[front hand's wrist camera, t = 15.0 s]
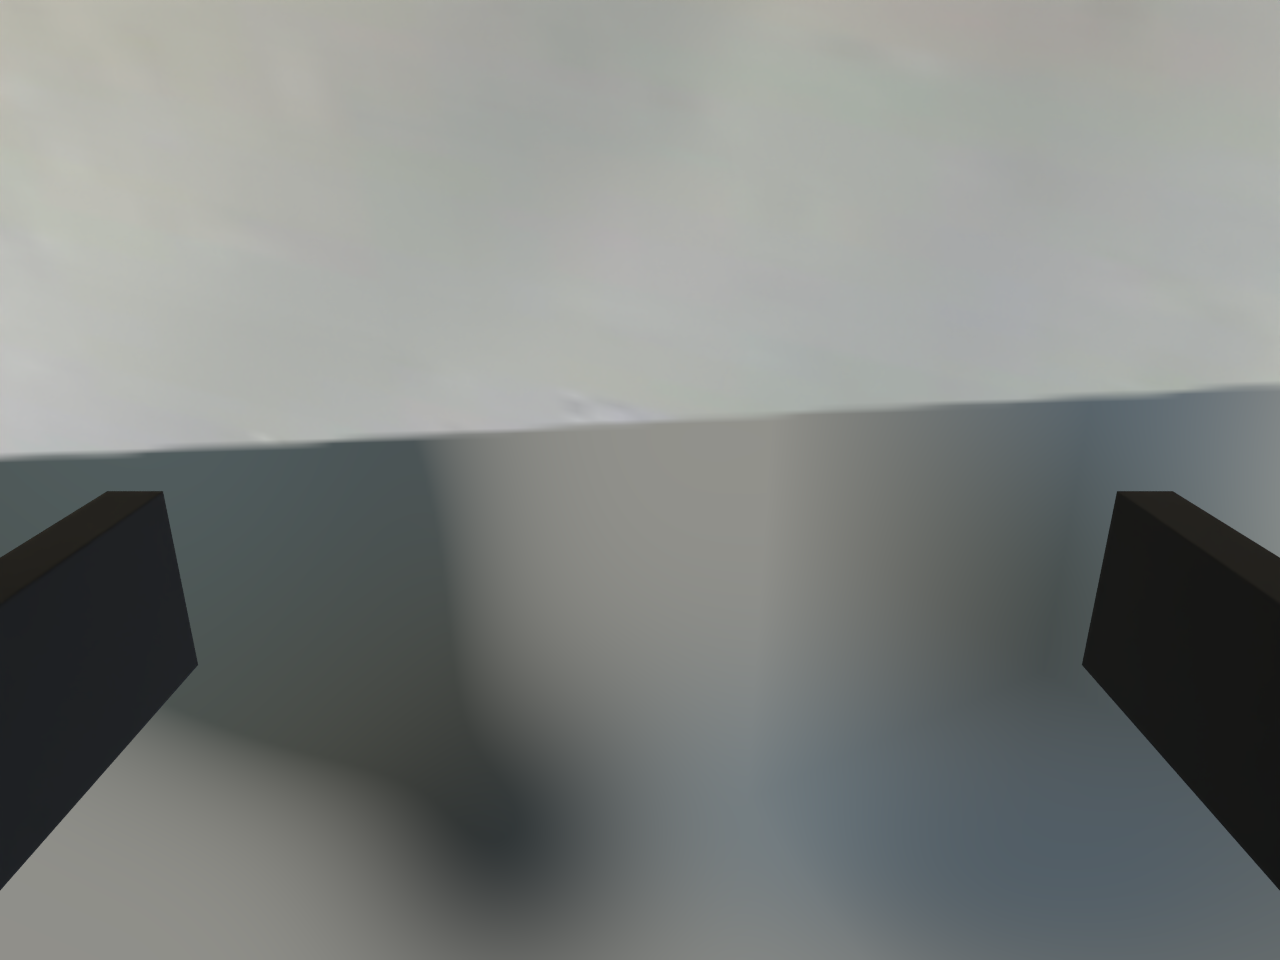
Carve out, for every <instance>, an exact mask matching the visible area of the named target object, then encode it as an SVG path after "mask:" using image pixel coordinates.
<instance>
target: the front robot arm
mask: <svg viewBox="0 0 1280 960" xmlns="http://www.w3.org/2000/svg"><path fill="white" fill-rule="evenodd" d="M197 665H198V663H197V658H196V653H195V648H194V643H193V638H192V633H191V628H190V623H189V618H188V613H187V608H186V603H185V598H184V593H183V588H182V584H181V579H180V574H179V569H178V564H177V559H176V554H175V549H174V544H173V539H172V534H171V529H170V524H169V519H168V514H167V509H166V505H165V500H164V494H163V492H162V491H107V492H105V493H104V494H102V495H101V496H99V497H97V498H96V499H94V500H92V501H91V502H89V503H88V504H86V505H84V506H83V507H81V508H80V509H78V510H76V511H75V512H73V513H72V514H70V515H68V516H67V517H65V518H63V519H62V520H60V521H59V522H57V523H55V524H54V525H52V526H51V527H49V528H47V529H46V530H44V531H43V532H41V533H39V534H38V535H36V536H34V537H33V538H31V539H30V540H28V541H26V542H25V543H23V544H22V545H20V546H18V547H17V548H15V549H14V550H12V551H10V552H9V553H7V554H6V555H4V556H2V557H1V558H0V890H1V889H2V888H3V887H4V885H5V884H6V883H7V882H8V881H9V880H10V879H11V877H12V876H13V875H14V874H15V873H16V872H17V871H18V870H19V868H20V867H21V866H22V865H23V864H24V863H25V862H26V860H27V859H28V858H29V857H30V856H31V855H32V854H33V852H34V851H35V850H36V849H37V848H38V847H39V846H40V844H41V843H42V842H43V841H44V840H45V839H46V838H47V836H48V835H49V834H50V833H51V832H52V831H53V830H54V828H55V827H56V826H57V825H58V824H59V823H60V822H61V820H62V819H63V818H64V817H65V816H66V815H67V814H68V813H69V811H70V810H71V809H72V808H73V807H74V806H75V805H76V803H77V802H78V801H79V800H80V799H81V798H82V796H83V795H84V794H85V793H86V792H87V791H88V790H89V789H90V787H91V786H92V785H93V784H94V783H95V782H96V781H97V779H98V778H99V777H100V776H101V775H102V774H103V773H104V771H105V770H106V769H107V768H108V767H109V766H110V765H111V763H112V762H113V761H114V760H115V759H116V758H117V757H118V755H119V754H120V753H121V752H122V751H123V750H124V749H125V748H126V746H127V745H128V744H129V743H130V742H131V741H132V739H133V738H134V737H135V736H136V735H137V734H138V733H139V732H140V730H141V729H142V728H143V727H144V726H145V725H146V724H147V722H148V721H149V720H150V719H151V718H152V717H153V716H154V714H155V713H156V712H157V711H158V710H159V709H160V708H161V706H162V705H163V704H164V703H165V702H166V701H167V700H168V698H169V697H170V696H171V695H172V694H173V693H174V692H175V690H176V689H177V688H178V687H179V686H180V685H181V684H182V682H183V681H184V680H185V679H186V678H187V677H188V676H189V675H190V673H191V672H192V671H193V670H194V669H195V668H196V666H197ZM1082 665H1083V667H1084V668H1085V669H1086V670H1087V671H1088V672H1089V673H1090V675H1091V676H1092V677H1093V678H1094V679H1095V680H1096V681H1097V683H1098V684H1099V685H1100V686H1101V687H1102V688H1103V689H1104V690H1105V692H1106V693H1107V694H1108V695H1109V696H1110V697H1111V698H1112V700H1113V701H1114V702H1115V703H1116V704H1117V705H1118V706H1119V708H1120V709H1121V710H1122V711H1123V712H1124V713H1125V714H1126V716H1127V717H1128V718H1129V719H1130V720H1131V721H1132V722H1133V723H1134V725H1135V726H1136V727H1137V728H1138V729H1139V730H1140V732H1141V733H1142V734H1143V735H1144V736H1145V737H1146V738H1147V740H1148V741H1149V742H1150V743H1151V744H1152V745H1153V746H1154V747H1155V749H1156V750H1157V751H1158V752H1159V753H1160V754H1161V755H1162V757H1163V758H1164V759H1165V760H1166V761H1167V762H1168V763H1169V765H1170V766H1171V767H1172V768H1173V769H1174V770H1175V771H1176V772H1177V774H1178V775H1179V776H1180V777H1181V778H1182V779H1183V781H1184V782H1185V783H1186V784H1187V785H1188V786H1189V787H1190V789H1191V790H1192V791H1193V792H1194V793H1195V794H1196V795H1197V796H1198V798H1199V799H1200V800H1201V801H1202V802H1203V803H1204V805H1205V806H1206V807H1207V808H1208V809H1209V810H1210V811H1211V813H1212V814H1213V815H1214V816H1215V817H1216V818H1217V819H1218V820H1219V822H1220V823H1221V824H1222V825H1223V826H1224V827H1225V828H1226V830H1227V831H1228V832H1229V833H1230V834H1231V835H1232V836H1233V838H1234V839H1235V840H1236V841H1237V842H1238V843H1239V844H1240V846H1241V847H1242V848H1243V849H1244V850H1245V851H1246V852H1247V854H1248V855H1249V856H1250V857H1251V858H1252V859H1253V860H1254V862H1255V863H1256V864H1257V865H1258V866H1259V867H1260V868H1261V870H1262V871H1263V872H1264V873H1265V874H1266V875H1267V876H1268V877H1269V879H1270V880H1271V881H1272V882H1273V883H1274V884H1275V885H1276V887H1277V888H1278V889H1279V890H1280V558H1279V557H1278V556H1276V555H1275V554H1273V553H1271V552H1270V551H1268V550H1266V549H1265V548H1263V547H1262V546H1260V545H1258V544H1257V543H1255V542H1254V541H1252V540H1250V539H1249V538H1247V537H1246V536H1244V535H1242V534H1241V533H1239V532H1237V531H1236V530H1234V529H1233V528H1231V527H1229V526H1228V525H1226V524H1225V523H1223V522H1221V521H1220V520H1218V519H1216V518H1215V517H1213V516H1212V515H1210V514H1208V513H1207V512H1205V511H1204V510H1202V509H1200V508H1199V507H1197V506H1196V505H1194V504H1192V503H1191V502H1189V501H1187V500H1186V499H1184V498H1183V497H1181V496H1179V495H1178V494H1176V493H1175V492H1173V491H1117V495H1116V500H1115V504H1114V509H1113V514H1112V519H1111V524H1110V529H1109V534H1108V539H1107V544H1106V549H1105V554H1104V559H1103V564H1102V569H1101V574H1100V579H1099V583H1098V588H1097V593H1096V598H1095V603H1094V608H1093V613H1092V618H1091V623H1090V628H1089V633H1088V638H1087V643H1086V648H1085V653H1084V658H1083V663H1082Z"/></svg>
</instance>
